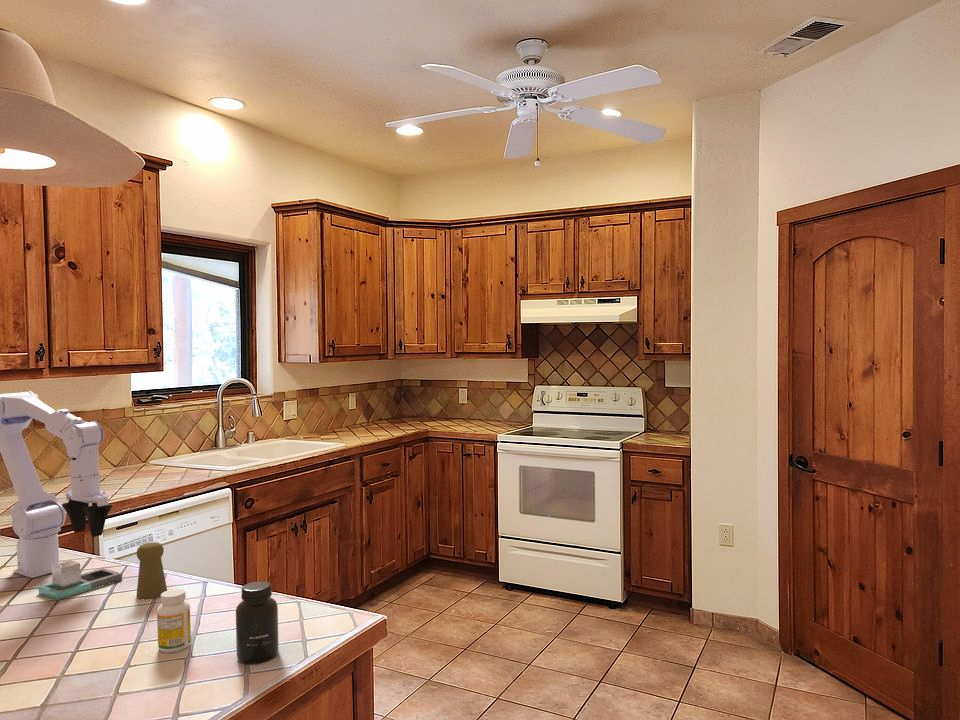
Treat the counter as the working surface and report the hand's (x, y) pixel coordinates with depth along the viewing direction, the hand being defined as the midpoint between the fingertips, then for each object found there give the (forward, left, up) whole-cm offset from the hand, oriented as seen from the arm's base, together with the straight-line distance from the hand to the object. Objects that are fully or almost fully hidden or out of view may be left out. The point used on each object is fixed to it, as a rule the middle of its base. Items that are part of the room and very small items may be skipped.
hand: (88, 533), depth 159 cm
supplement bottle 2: (+67, -7, -11) cm, 68 cm away
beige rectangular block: (+4, -7, -10) cm, 13 cm away
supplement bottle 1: (+51, -12, -11) cm, 53 cm away
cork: (+23, +1, -11) cm, 25 cm away
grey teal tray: (+4, -4, -10) cm, 12 cm away
